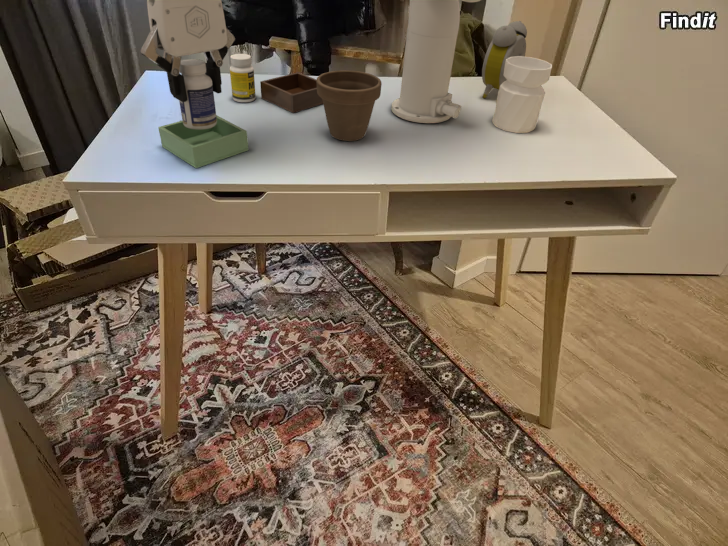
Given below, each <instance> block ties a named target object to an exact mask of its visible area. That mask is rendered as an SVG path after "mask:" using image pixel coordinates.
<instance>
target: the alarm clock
mask: <svg viewBox="0 0 728 546" xmlns="http://www.w3.org/2000/svg"><path fill="white" fill-rule="evenodd" d="M527 35H528V29H527V26H526V25H525V24H524V23H523V22H522V20H517V21H516V20H515V21H512V22H510V23H509V24H507V25H502V26H500V27H498V28H497V29H496V30H495V31H494V34H493V36H492V40H491V41H490V43H489V45H488V48H487V50H486V53H485V55H484V59H483V64H482V68H481V78H482V79H481V80H482V83H483V85H484V86H485V89H484V91H483V93H482V98H483V99H486V98H487V97H488V96H489V94H490V93H491V91H492V90H493V89H495V90H498V91H499V88H500V85H501V84H502V83H503V82H504V81H506V80H507V79H506V78H505V77H504V67H505V61H506V59H508V58H509V57H516V56H524V57H526V52H527V41H526V38H527Z"/></svg>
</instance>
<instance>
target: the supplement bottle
mask: <svg viewBox="0 0 728 546" xmlns="http://www.w3.org/2000/svg"><path fill="white" fill-rule="evenodd" d="M252 63H253V61H252V56H251V55H250V54H248V53H234V54H232V55H230V67H229V75H230V85H231V96H232V99H233V101H235V102H238V103H251V102H253V101H255V100H256V83H255V69H254V66H253V65H252Z"/></svg>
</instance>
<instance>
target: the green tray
mask: <svg viewBox="0 0 728 546" xmlns="http://www.w3.org/2000/svg"><path fill="white" fill-rule="evenodd" d="M216 117H217V124H216V125H215V126H214V127H212V128H209V129H204V130H195V129H189V128H187V127H185V126H184V124H183V121H182V120H179V121H175V122H172V123H168V124H165V125H160V126H158V133H159V138H160V143H161V147H162V148H164V149H165V150H167V151H168V152H170V153H171V154H172V155H175V156H176V157H177V158H179V159H180V160H182V161H184V162H185V163H186V164H188V165H190V166H192V167H193V168H195V169H198V168H201V167H204V166H207V165H210V164H213V163H216V162H219V161H221V160H224V159H228V158H229V157H233V156H236V155H239V154H242V153H245V152H249V140H248V131H247V130H246V129H244V128H242V127H240V126H238V125H236V124H235V123H233V122H231V121H228V120H227V119H225V118H223V117H221V116H219V115H217V114H216Z"/></svg>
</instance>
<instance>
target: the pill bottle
mask: <svg viewBox="0 0 728 546" xmlns="http://www.w3.org/2000/svg"><path fill="white" fill-rule="evenodd" d="M205 63H206V61H205V60H202V59H198V58H189V59H181V64H180V74H181V75H183V76H184V81H185V87H186V94H187V101H186V102H182V101H180V100H178V101H179V108H180V114H181V121H183V124H184V126H185V127H187V128H189V129H195V130H204V129H209V128H212V127H214V126H215V125H216V124H217V117H216V115H217V110H216V103H215V101H216V100H215V94H214V93H215V92H214V91H213V84H212V80H211V78H210V77H209V76H207V75H205V73H206V64H205Z"/></svg>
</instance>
